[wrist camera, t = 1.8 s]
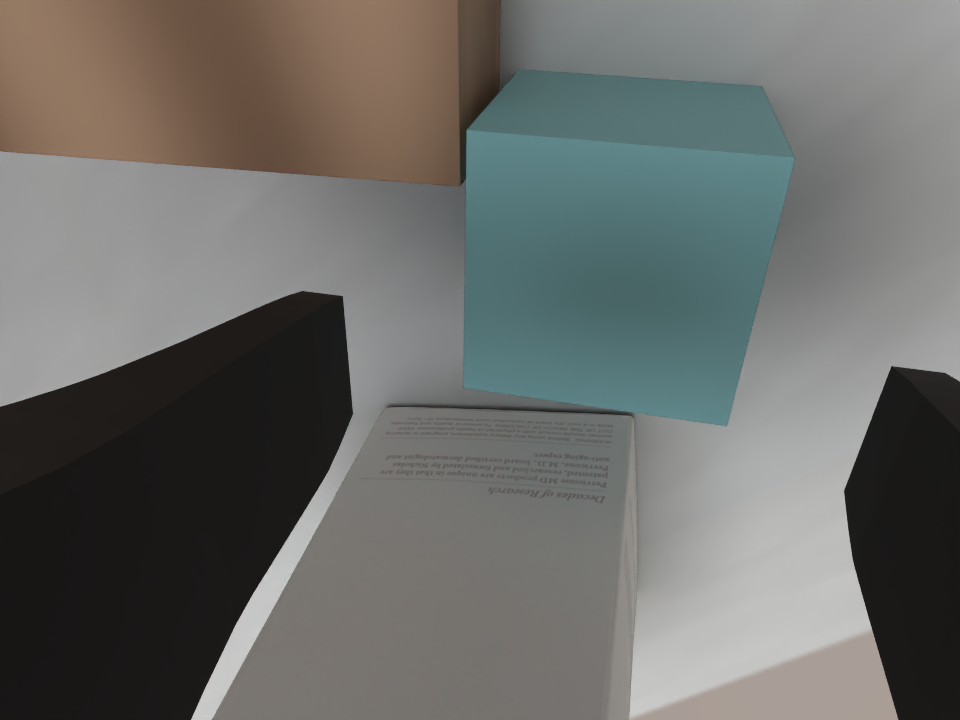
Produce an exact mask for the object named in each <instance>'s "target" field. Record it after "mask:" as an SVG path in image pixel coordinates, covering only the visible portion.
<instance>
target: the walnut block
mask: <svg viewBox="0 0 960 720" xmlns="http://www.w3.org/2000/svg"><path fill="white" fill-rule="evenodd" d="M500 15H501V0H0V151H3V152H16V153H29V154H42V155H55V156H68V157H82V158H95V159H108V160H121V161H134V162H147V163H160V164H173V165H186V166H199V167H212V168H225V169H238V170H251V171H264V172H277V173H290V174H304V175H317V176H330V177H343V178H356V179H369V180H382V181H395V182H408V183H421V184H434V185H447V186H461V185H462V183H463V182H464V180H465V179H466V142H467V129H468V128H469V127H470V126H471V125H472V123H473V122H474V121H475V120H476V119H477V118H478V116H479V115H480V114H481V113H482V112H483V111H484V110H485V108H486V107H487V106H488V105H489V104H490V103H491V101H492V100H493V99H494V98H495V97H496V96H497V95H498V93H499V79H500Z"/></svg>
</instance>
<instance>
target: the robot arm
mask: <svg viewBox="0 0 960 720" xmlns="http://www.w3.org/2000/svg"><path fill="white" fill-rule="evenodd" d="M352 415H353V409H352V398H351V386H350V375H349V363H348V352H347V340H346V329H345V317H344V306H343V296H337V295H329V294H321V293H313V292H306V291H301V292H298V293H295V294H291V295H288V296H286V297H283V298H280V299H278V300H275V301H273V302H270V303H268V304H266V305H263V306H261V307H259V308H256V309H254V310H252V311H250V312H247V313H245V314H243V315H241V316H238V317H236V318H234V319H232V320H229V321H227V322H225V323H223V324H220V325H218V326H216V327H214V328H211V329H209V330H207V331H205V332H202V333H200V334H198V335H196V336H193V337H191V338H189V339H187V340H184V341H182V342H180V343H178V344H175V345H173V346H170V347H168V348H165V349H163V350H160V351H158V352H155V353H153V354H150V355H148V356H145V357H143V358H140V359H138V360H136V361H133V362H131V363H128V364H126V365H123V366H121V367H118V368H116V369H113V370H111V371H108V372H106V373H103V374H100V375H98V376H95V377H92V378H89V379H87V380H84V381H81V382H78V383H75V384H72V385H69V386H66V387H63V388H60V389H57V390H54V391H51V392H47V393H44V394H41V395H38V396H35V397H32V398H28V399H25V400H22V401H19V402H15V403H12V404H9V405H5V406H2V407H0V720H191V718H192V716H193V714H194V712H195V709H196V707H197V705H198V703H199V701H200V698H201V696H202V694H203V692H204V689H205V687H206V685H207V683H208V681H209V679H210V677H211V675H212V673H213V671H214V669H215V667H216V664H217V662H218V660H219V658H220V656H221V654H222V652H223V650H224V648H225V646H226V644H227V642H228V640H229V637H230V635H231V633H232V631H233V629H234V627H235V625H236V623H237V621H238V620H239V618H240V616H241V614H242V612H243V611H244V609H245V607H246V605H247V604H248V602H249V600H250V598H251V596H252V595H253V593H254V591H255V590H256V588H257V587H258V585H259V583H260V582H261V580H262V578H263V577H264V575H265V574H266V572H267V570H268V569H269V567H270V566H271V564H272V562H273V561H274V559H275V558H276V556H277V554H278V553H279V551H280V549H281V548H282V546H283V545H284V543H285V541H286V540H287V538H288V537H289V535H290V533H291V532H292V530H293V529H294V527H295V525H296V524H297V522H298V521H299V519H300V517H301V516H302V514H303V512H304V511H305V509H306V508H307V506H308V504H309V503H310V501H311V499H312V498H313V496H314V494H315V493H316V491H317V489H318V488H319V486H320V484H321V483H322V481H323V479H324V478H325V476H326V474H327V473H328V471H329V469H330V467H331V464H332V462H333V460H334V458H335V455H336V453H337V451H338V449H339V447H340V444H341V442H342V439H343V437H344V435H345V432H346V430H347V427H348V425H349V422H350V420H351V417H352ZM844 494H845V503H846V512H847V521H848V530H849V536H850V543H851V550H852V557H853V562H854V566H855V570H856V573H857V577H858V581H859V584H860V588H861V592H862V595H863V599H864V602H865V606H866V609H867V613H868V616H869V620H870V623H871V627H872V630H873V634H874V637H875V641H876V644H877V647H878V651H879V654H880V658H881V661H882V665H883V667H884V671H885V675H886V678H887V682H888V685H889V688H890V692H891V695H892V699H893V702H894V706H895V709H896V713H897V716H898V719H899V720H960V382H959V381H958V380H956V379H954V378H953V377H951V376H949V375H948V374H946V373H940V372H932V371H924V370H917V369H909V368H901V367H893V366H892V367H891V369H890V372H889V374H888V377H887V380H886V382H885V385H884V388H883V390H882V393H881V395H880V398H879V401H878V403H877V406H876V409H875V411H874V414H873V416H872V419H871V422H870V424H869V427H868V430H867V432H866V435H865V437H864V440H863V443H862V445H861V448H860V451H859V453H858V456H857V458H856V461H855V464H854V466H853V469H852V472H851V474H850V477H849V479H848V482H847V485H846V487H845V490H844Z"/></svg>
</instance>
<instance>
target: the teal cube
mask: <svg viewBox="0 0 960 720" xmlns="http://www.w3.org/2000/svg"><path fill="white" fill-rule="evenodd" d="M794 160H795V156H794V154H793V152H792V150H791V148H790V146H789V143H788V141H787V139H786V137H785V135H784V133H783V131H782V128H781V126H780V124H779V122H778V120H777V118H776V115H775V113H774V111H773V109H772V107H771V105H770V103H769V100H768V98H767V96H766V94H765V92H764V90H763V88H762V86H751V85H737V84H723V83H708V82H694V81H679V80H665V79H651V78H636V77H622V76H608V75H593V74H579V73H564V72H550V71H536V70H521V69H519V70H518V71H517V73H516V74H515V75H514V76H513V77H512V78H511V80H510V81H509V82H508V83H507V84H506V85H505V86H504V88H503V89H502V90H501V91H500V92H499V93H498V95H497V96H496V97H495V98H494V99H493V100H492V101H491V103H490V104H489V105H488V106H487V107H486V108H485V110H484V111H483V112H482V113H481V114H480V115H479V116H478V118H477V119H476V120H475V121H474V122H473V123H472V125H471V126H470V127H469V128H468V129H467V142H466V216H465V290H464V364H463V388H467V389H474V390H481V391H488V392H494V393H501V394H508V395H515V396H522V397H529V398H536V399H543V400H550V401H557V402H564V403H570V404H577V405H584V406H591V407H598V408H605V409H612V410H619V411H626V412H633V413H640V414H646V415H653V416H660V417H667V418H674V419H681V420H688V421H695V422H702V423H709V424H716V425H722V426H727V424H728V420H729V416H730V412H731V408H732V404H733V400H734V396H735V392H736V388H737V384H738V380H739V377H740V373H741V369H742V365H743V361H744V357H745V353H746V349H747V345H748V341H749V337H750V333H751V329H752V325H753V322H754V318H755V314H756V310H757V306H758V302H759V298H760V294H761V290H762V286H763V282H764V278H765V274H766V270H767V267H768V263H769V259H770V255H771V251H772V247H773V243H774V239H775V235H776V231H777V227H778V223H779V219H780V215H781V212H782V208H783V204H784V200H785V196H786V192H787V188H788V184H789V180H790V176H791V172H792V168H793V164H794Z"/></svg>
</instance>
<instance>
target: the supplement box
mask: <svg viewBox="0 0 960 720" xmlns="http://www.w3.org/2000/svg"><path fill="white" fill-rule="evenodd" d="M637 561H638V525H637V491H636V460H635V433H634V419H633V418H632V417H631V416H628V415H611V414H590V413H561V412H540V411H510V410H491V409H458V408H427V407H390V408H386V409H384V410H383V411H382V413H381V415H380V416H379V418H378V419H377V421H376V423H375V425H374V427H373V429H372V430H371V432H370V434H369V436H368V438H367V439H366V441H365V443H364V445H363V447H362V448H361V450H360V452H359V454H358V456H357V457H356V459H355V461H354V463H353V464H352V466H351V468H350V470H349V472H348V473H347V475H346V477H345V479H344V481H343V482H342V484H341V486H340V488H339V490H338V492H337V493H336V495H335V497H334V499H333V501H332V503H331V504H330V506H329V508H328V510H327V512H326V514H325V515H324V517H323V519H322V521H321V523H320V524H319V526H318V528H317V530H316V532H315V533H314V535H313V537H312V539H311V541H310V542H309V544H308V546H307V548H306V550H305V552H304V553H303V555H302V557H301V559H300V561H299V562H298V564H297V566H296V568H295V570H294V572H293V573H292V575H291V577H290V579H289V581H288V583H287V584H286V586H285V588H284V590H283V592H282V593H281V595H280V597H279V599H278V601H277V603H276V605H275V606H274V608H273V610H272V612H271V614H270V615H269V617H268V619H267V621H266V623H265V624H264V626H263V628H262V630H261V632H260V633H259V635H258V637H257V639H256V641H255V642H254V644H253V646H252V648H251V649H250V651H249V653H248V655H247V657H246V659H245V660H244V662H243V664H242V666H241V668H240V670H239V671H238V673H237V675H236V677H235V679H234V680H233V682H232V684H231V686H230V688H229V690H228V691H227V693H226V695H225V697H224V699H223V701H222V702H221V704H220V706H219V708H218V710H217V711H216V713H215V715H214V717H213V719H212V720H629V711H630V693H631V675H632V658H633V640H634V627H635V613H636V598H637Z"/></svg>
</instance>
